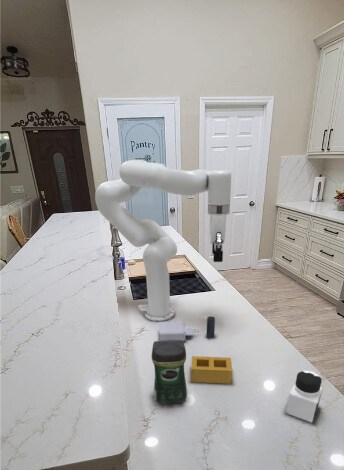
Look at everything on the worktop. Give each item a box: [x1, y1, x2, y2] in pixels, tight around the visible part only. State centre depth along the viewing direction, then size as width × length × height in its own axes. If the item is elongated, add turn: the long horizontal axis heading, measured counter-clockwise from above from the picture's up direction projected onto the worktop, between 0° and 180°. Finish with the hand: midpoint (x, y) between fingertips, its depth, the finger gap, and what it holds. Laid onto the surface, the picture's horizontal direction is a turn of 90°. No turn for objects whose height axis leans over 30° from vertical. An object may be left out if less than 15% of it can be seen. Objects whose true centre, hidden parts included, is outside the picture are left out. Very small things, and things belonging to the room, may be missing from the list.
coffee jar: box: [151, 340, 188, 405], centre depth 93 cm, size 10×8×19 cm
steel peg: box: [205, 316, 216, 339], centre depth 125 cm, size 3×3×8 cm
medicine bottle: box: [285, 370, 324, 423], centre depth 88 cm, size 7×7×12 cm
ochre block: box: [190, 355, 233, 385], centre depth 104 cm, size 12×7×5 cm, turn 85°
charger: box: [158, 320, 200, 342], centre depth 126 cm, size 5×9×15 cm
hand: (217, 257), depth 121 cm, fingers open, 9 cm apart
